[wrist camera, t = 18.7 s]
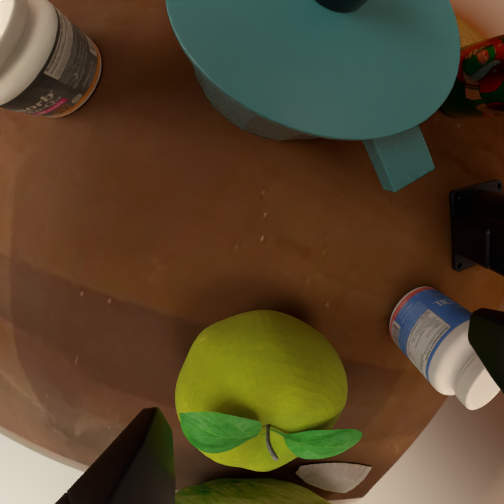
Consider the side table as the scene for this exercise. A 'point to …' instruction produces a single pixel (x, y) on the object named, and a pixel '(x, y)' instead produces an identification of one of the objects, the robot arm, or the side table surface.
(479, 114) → the soda can
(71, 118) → the side table surface
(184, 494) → the lettuce
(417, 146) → the pot
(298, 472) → the arrowhead
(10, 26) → the pill bottle
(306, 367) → the fruit
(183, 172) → the side table surface
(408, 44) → the pot lid
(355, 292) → the side table surface
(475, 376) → the pill bottle
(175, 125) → the side table surface
